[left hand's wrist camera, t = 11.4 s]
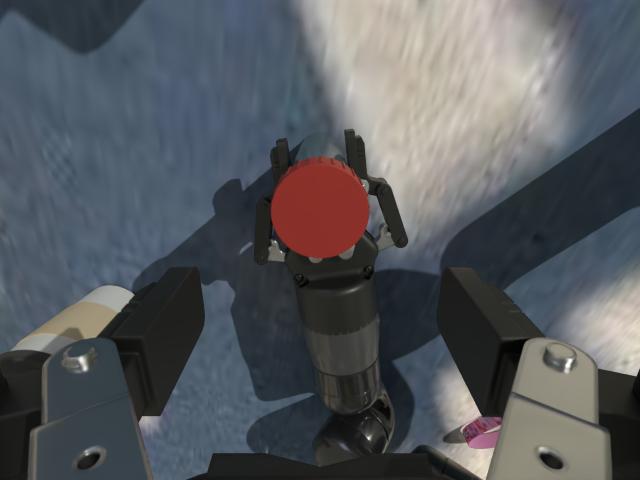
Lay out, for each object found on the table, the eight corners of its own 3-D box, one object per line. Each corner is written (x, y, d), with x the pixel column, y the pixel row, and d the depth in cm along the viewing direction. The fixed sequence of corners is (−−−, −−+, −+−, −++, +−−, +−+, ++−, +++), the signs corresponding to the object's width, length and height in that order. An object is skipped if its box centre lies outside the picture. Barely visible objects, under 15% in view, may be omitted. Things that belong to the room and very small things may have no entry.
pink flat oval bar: (471, 444, 51) (477, 458, 49) (458, 426, 50) (464, 440, 48) (546, 411, 48) (556, 425, 46) (535, 391, 47) (544, 405, 45)
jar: (350, 147, 36) (377, 195, 19) (328, 185, 37) (334, 262, 21) (311, 124, 35) (303, 153, 18) (289, 164, 36) (264, 226, 20)
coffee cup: (101, 350, 45) (3, 467, 31) (61, 289, 42) (-70, 388, 28) (168, 332, 44) (98, 444, 30) (132, 267, 41) (34, 359, 27)
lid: (382, 184, 21) (390, 195, 19) (335, 257, 23) (337, 275, 20) (301, 137, 20) (299, 143, 18) (259, 217, 22) (252, 232, 19)
